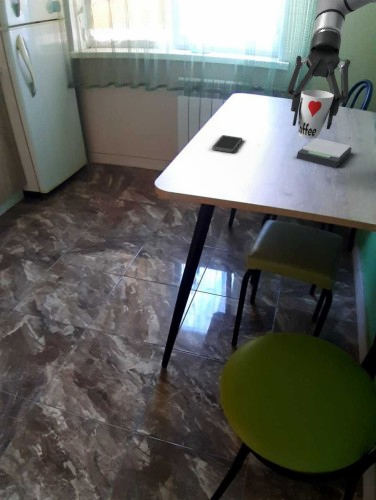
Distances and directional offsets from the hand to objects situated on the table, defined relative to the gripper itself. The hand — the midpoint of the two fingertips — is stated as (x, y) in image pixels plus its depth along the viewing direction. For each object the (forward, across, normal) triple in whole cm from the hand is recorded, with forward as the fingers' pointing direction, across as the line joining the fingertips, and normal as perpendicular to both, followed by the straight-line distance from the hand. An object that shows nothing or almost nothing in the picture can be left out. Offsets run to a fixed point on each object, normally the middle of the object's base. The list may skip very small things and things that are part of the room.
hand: (311, 124), depth 106 cm
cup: (0, 0, -5) cm, 5 cm away
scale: (-7, -8, -28) cm, 30 cm away
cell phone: (-6, +24, -28) cm, 38 cm away
